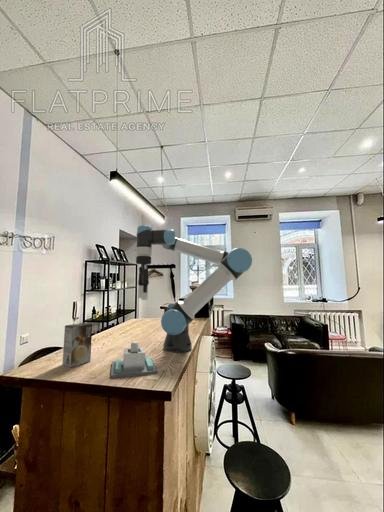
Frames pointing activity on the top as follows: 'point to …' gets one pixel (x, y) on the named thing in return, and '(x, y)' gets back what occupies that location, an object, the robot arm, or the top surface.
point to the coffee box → (77, 344)
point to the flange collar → (133, 359)
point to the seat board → (149, 369)
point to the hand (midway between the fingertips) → (142, 299)
